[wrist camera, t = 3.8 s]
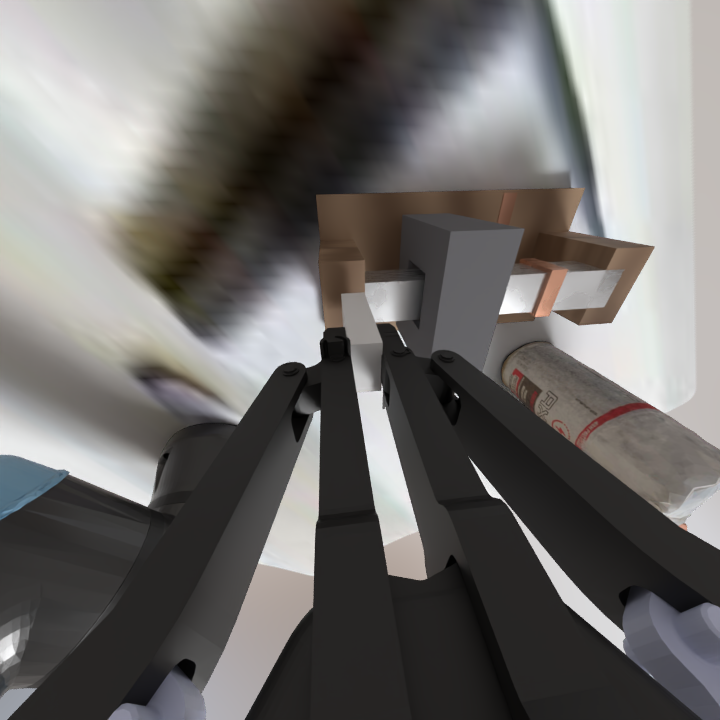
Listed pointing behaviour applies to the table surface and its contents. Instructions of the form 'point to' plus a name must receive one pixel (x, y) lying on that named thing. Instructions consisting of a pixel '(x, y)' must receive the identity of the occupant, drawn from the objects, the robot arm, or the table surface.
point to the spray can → (616, 429)
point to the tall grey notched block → (457, 281)
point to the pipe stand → (509, 207)
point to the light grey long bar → (524, 293)
